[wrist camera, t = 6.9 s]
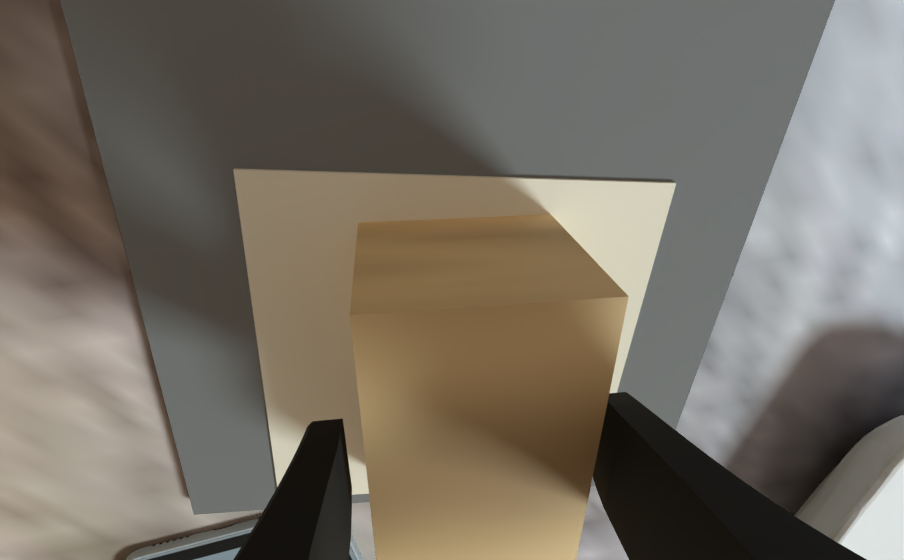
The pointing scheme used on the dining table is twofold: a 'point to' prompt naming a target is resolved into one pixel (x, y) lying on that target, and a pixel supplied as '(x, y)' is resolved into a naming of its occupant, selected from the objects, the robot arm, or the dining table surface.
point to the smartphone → (211, 545)
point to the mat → (416, 179)
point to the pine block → (480, 384)
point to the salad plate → (864, 496)
